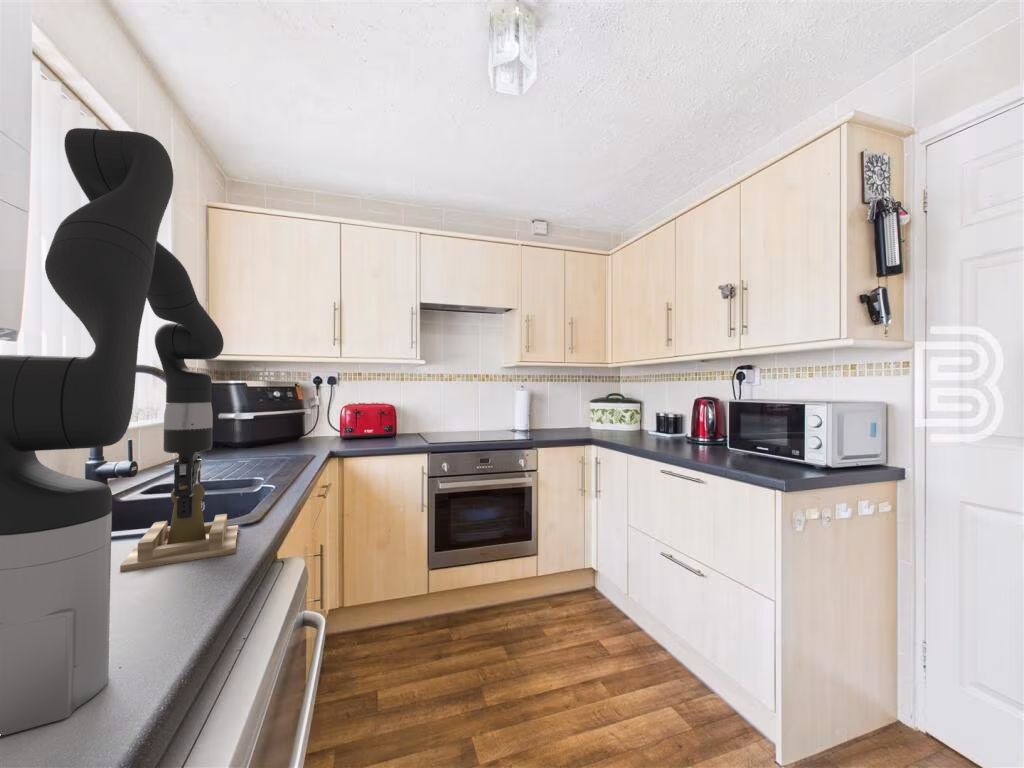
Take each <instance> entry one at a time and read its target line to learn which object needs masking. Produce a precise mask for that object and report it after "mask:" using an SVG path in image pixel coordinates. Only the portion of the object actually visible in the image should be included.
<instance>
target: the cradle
mask: <svg viewBox="0 0 1024 768" xmlns="http://www.w3.org/2000/svg"><path fill="white" fill-rule="evenodd" d="M168 524H169V522H168V520H162V521H156V522H155V521H154V523H153V524H152V525H151V526H150V528H149V529H148V530H147V531H146V532H145V534H144V535H143V536H142V537H141V539H140V540H139V541H138V542H137V544H136V545H135V547H134V548H133V549H132V551H130V552H129V554H128V555H127V557H125V559H124V560H123V561H122V563H121V564H120V567H119V572H121V573H122V572H127V571H133V570H138V569H143V568H144V569H145V568H151V567H157V566H156V565H158V566H163V565H162V564H165V565H168V564H167V563H171V564H175V563H174V562H177V563H182V561H183V562H188V561H194V560H195V559H196V560H202V559H207V557H209V558H214V557H213V556H215V557H220V556H227V555H232V554H233V553H234V554H235V552H236V547H237V541H236V540H238V534H239V525H238V524H236V525H229V526H228V513H221V514H215V515H214V520H213V522H207V523H205V522H204V527H205V534H206V539H205V540H198V541H191V542H184V543H177V544H170V545H167V542H168V537H169V531H170V527H168ZM237 533H238V534H237ZM201 558H202V559H201ZM196 560H195V561H196Z"/></svg>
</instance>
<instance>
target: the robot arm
mask: <svg viewBox="0 0 1024 768" xmlns="http://www.w3.org/2000/svg"><path fill="white" fill-rule="evenodd" d="M63 142H64V144H63V145H64V153H65V156H66V160H67V163H68V165H69V167H70V169H71V172H72V174H73V176H74V178H75V180H76V181H77V183H78V185H79V187H80V189H81V190H82V192H83V193H84V196H86V198H87V200H88V201H89V202H88V203H86V204H84V205H83V206H80V207H79V208H78V209H76V210H74V211H73V212H72V213H70V214H68V215H67V216H66V217H65V218H64V219H63V220H62V221H61V222H60V223H59V225H58V227H57V229H56V231H55V233H54V236H53V238H52V241H51V244H50V247H49V248H48V252H47V255H46V259H45V261H44V262H45V263H44V271H45V273H46V274H45V275H46V277H47V280H48V281H49V284H50V285H51V287H52V289H53V290H54V291H55V293H56V294H57V295H58V297H59V298H60V299H61V301H62V302H63V303H64V304H65V305H66V306H67V307H68V308H69V310H70V311H71V312H72V313H73V314H74V315H75V316H76V317H77V319H79V320H80V322H81V324H82V325H83V326H84V327H85V330H86V331H87V332H88V334H89V336H90V337H91V338H92V341H93V342H94V345H95V347H94V350H93V352H92V353H91V354H90V355H88V356H67V355H65V356H61V355H32V354H31V355H29V354H0V734H1V735H4V736H6V735H5V734H7V735H10V734H9V733H11V734H15V733H18V732H21V731H25V730H29V729H32V728H36V727H39V726H43V725H46V724H50V723H53V722H57V721H61V720H64V719H67V718H69V717H71V715H72V714H73V712H74V711H75V710H76V709H78V708H79V707H81V705H83V704H85V703H87V702H88V701H89V700H91V699H92V698H93V697H95V696H96V695H97V694H99V693H100V692H101V691H102V689H103V688H104V687H105V686H106V684H107V683H108V681H109V665H110V620H111V619H110V617H111V616H110V611H111V571H112V569H111V567H112V566H111V565H112V563H111V562H112V558H111V557H112V554H111V553H112V525H113V524H112V523H113V521H112V520H113V519H112V516H113V512H112V510H113V492H112V490H111V487H110V486H109V485H108V484H106V483H104V482H101V481H97V480H91V479H86V478H83V477H82V478H80V477H76V476H72V475H67V474H64V473H61V472H58V471H56V470H53V469H52V468H49V467H47V466H45V465H44V464H42V463H41V461H39V459H38V457H37V454H36V452H40V451H57V450H60V451H61V450H77V449H78V450H79V449H81V450H82V449H97V448H104V447H111V446H113V445H115V444H117V443H118V442H120V441H121V440H122V439H123V437H124V436H125V435H126V433H127V431H128V428H129V426H130V422H131V419H132V415H133V409H134V408H133V407H134V397H135V390H136V389H135V388H136V378H137V363H138V351H139V340H140V334H141V333H140V331H141V326H142V325H141V324H142V321H143V316H144V312H145V307H146V303H147V302H148V304H149V306H150V308H151V310H152V312H153V314H154V315H155V316H156V318H157V317H158V319H161V320H165V321H167V322H166V323H164V324H162V325H160V327H158V329H157V330H156V332H155V334H154V346H155V349H156V353H157V355H158V358H159V362H160V364H161V367H162V371H163V375H164V378H165V382H166V384H165V385H166V387H165V389H166V390H165V410H164V414H163V451H164V453H167V454H178V460H176V462H174V463H173V471H174V475H173V476H174V477H173V485H174V486H173V487H174V488H173V489H174V496H175V497H176V499H177V498H178V499H177V518H179V519H182V518H190V517H191V516H192V510H193V495H194V492H193V491H194V486H195V485H196V484H199V485H200V483H201V479H202V478H201V477H202V470H201V469H202V465H203V460H202V456H201V454H199V453H198V452H206V451H209V450H212V448H213V425H214V424H213V417H214V416H213V415H214V414H213V405H212V388H213V387H212V385H213V384H212V383H213V382H212V377H211V375H209V373H208V374H207V373H206V372H201V371H195V370H192V369H190V368H188V366H187V364H186V362H185V360H203V361H204V360H213V359H215V358H217V357H219V356H220V355H221V353H222V351H223V349H224V345H225V344H224V338H223V334H222V332H221V330H220V329H219V326H218V325H217V324H216V323H215V321H214V320H213V319H212V318H211V316H210V315H209V313H208V312H207V311H206V310H205V309H204V307H203V306H202V304H201V303H200V301H199V300H198V298H197V294H196V292H195V288H194V286H193V283H192V281H191V277H190V276H189V273H188V271H187V269H186V268H185V266H184V265H183V264H182V262H181V261H180V260H179V259H178V258H177V257H176V256H175V255H174V254H173V253H172V252H171V251H170V250H169V249H168V248H166V247H165V246H164V245H162V243H160V242H159V241H158V236H159V232H160V226H161V224H162V222H163V221H162V220H163V218H164V215H165V212H166V211H167V208H168V205H169V202H170V200H171V197H172V194H173V189H174V169H173V164H172V160H171V156H170V154H169V153H168V150H167V149H166V148H165V146H164V145H163V144H162V143H161V142H160V141H159V140H158V139H156V138H155V137H154V136H151V135H149V134H147V133H142V132H138V131H130V130H115V129H99V128H87V127H86V128H85V127H84V128H83V127H76V128H71V129H69V130H68V131H67V132H66V134H65V137H64V141H63ZM146 301H147V302H146ZM182 486H188V489H182V490H181V487H182Z"/></svg>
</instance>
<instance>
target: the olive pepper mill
mask: <svg viewBox="0 0 1024 768" xmlns="http://www.w3.org/2000/svg"><path fill="white" fill-rule="evenodd" d="M182 489H188V486H182V487H181V490H182ZM193 492H194V495H193V510H192V516H191V517H190V518H182V519H179V518H177V499H178V498H177V499H176V497H175V496H174V488H173V489H172V490H171V493H170V498H171V499H170V500H171V501H172V503H174V505H173V510H172V514H171V515H172V517H171V521H170V527H169V528H170V531H169V537H168V542H167V545H170V544H177V543H184V542H191V541H198V540H205V539H206V534H205V527H204V524H205V521H204V514H203V508H202V507H203V506H202V505H203V504H202V500H203V499H204V497H205V487H203V485H202V484H200V483H199V484H196V485H195V486H194V491H193Z"/></svg>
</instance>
